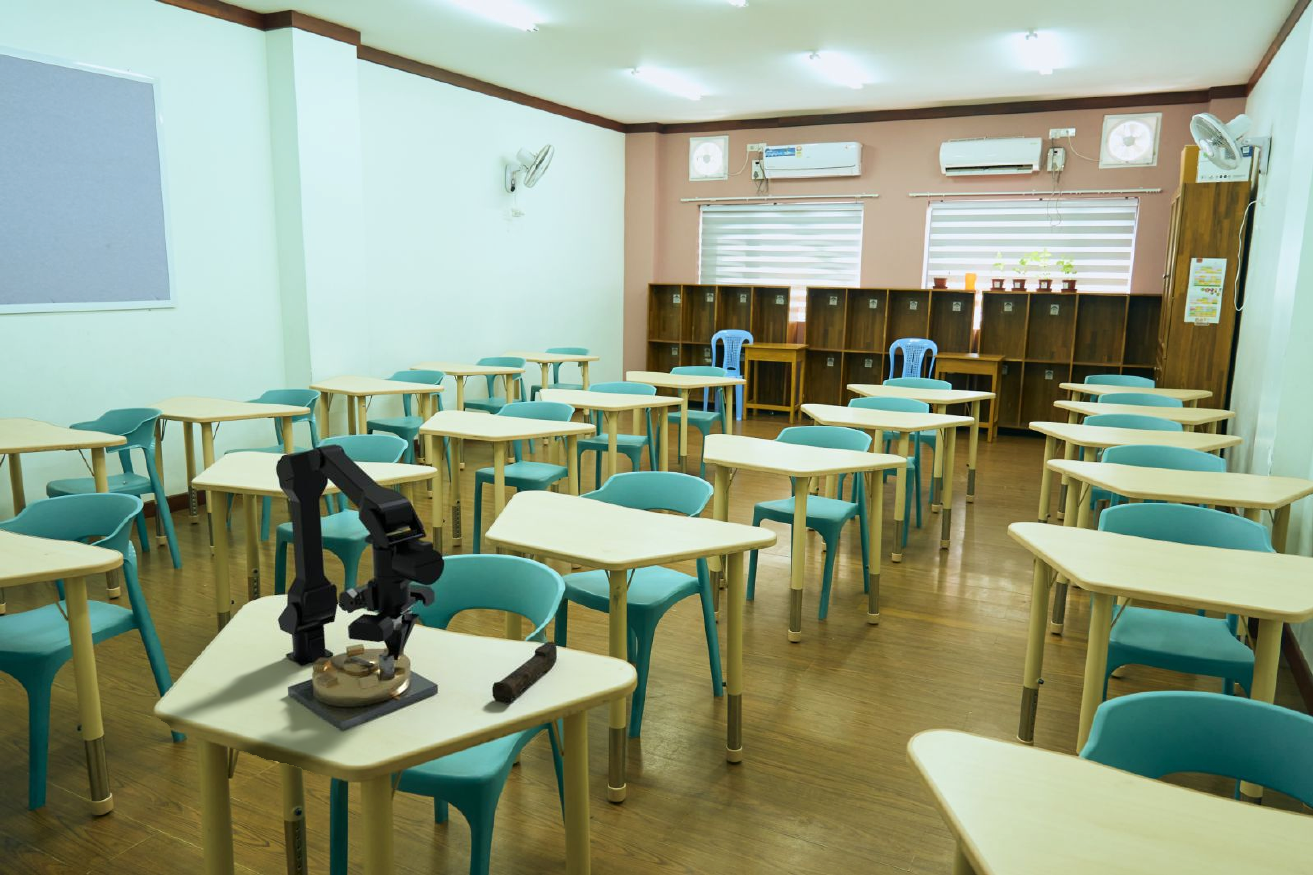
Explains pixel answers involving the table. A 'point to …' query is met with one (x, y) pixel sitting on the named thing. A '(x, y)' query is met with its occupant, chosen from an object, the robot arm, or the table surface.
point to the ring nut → (360, 677)
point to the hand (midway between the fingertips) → (395, 659)
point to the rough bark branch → (525, 673)
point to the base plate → (360, 714)
